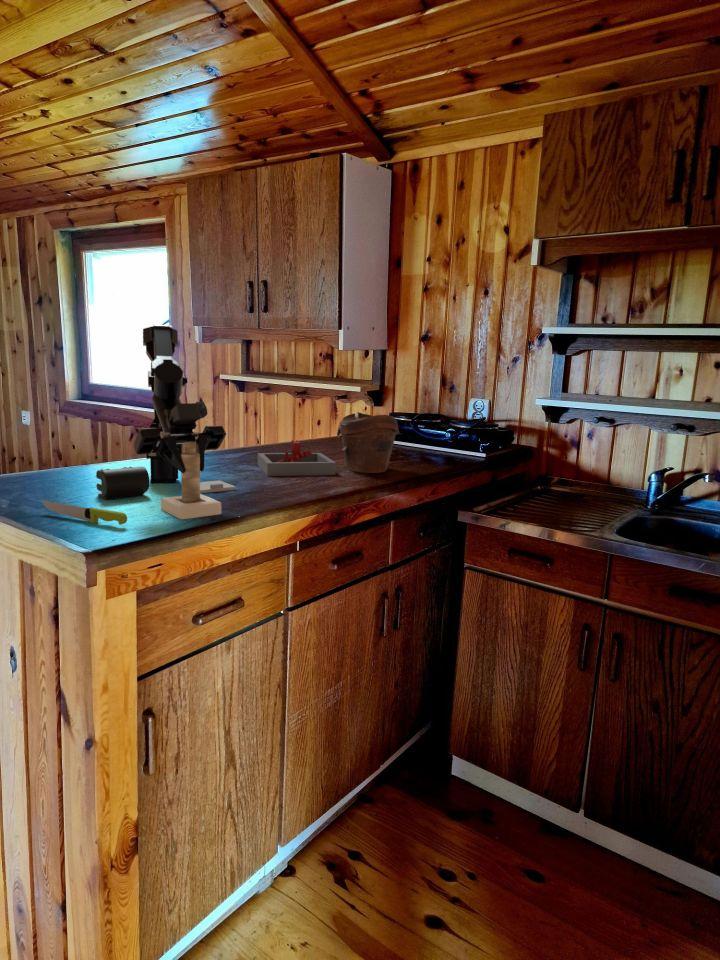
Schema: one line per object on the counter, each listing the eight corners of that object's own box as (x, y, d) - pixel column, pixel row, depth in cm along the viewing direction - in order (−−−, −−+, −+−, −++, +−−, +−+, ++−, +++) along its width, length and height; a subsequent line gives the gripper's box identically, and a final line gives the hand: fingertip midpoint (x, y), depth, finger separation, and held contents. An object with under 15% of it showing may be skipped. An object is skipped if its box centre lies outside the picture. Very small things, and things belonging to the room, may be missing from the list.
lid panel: (183, 487, 158) (182, 480, 157) (219, 483, 164) (219, 476, 164) (198, 493, 151) (198, 486, 150) (236, 489, 157) (236, 482, 157)
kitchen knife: (38, 514, 127) (37, 500, 126) (44, 513, 128) (43, 498, 128) (123, 529, 118) (122, 514, 118) (128, 528, 119) (127, 513, 119)
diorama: (281, 463, 195) (281, 436, 194) (316, 466, 192) (317, 439, 190) (265, 468, 185) (265, 440, 184) (302, 472, 182) (303, 443, 180)
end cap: (107, 502, 139) (106, 472, 138) (95, 496, 144) (93, 467, 143) (150, 497, 146) (149, 468, 144) (137, 491, 151) (136, 464, 149)
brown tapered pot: (350, 461, 207) (352, 407, 203) (406, 468, 198) (409, 412, 195) (323, 470, 191) (325, 411, 187) (383, 478, 183) (386, 416, 179)
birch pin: (181, 502, 130) (181, 443, 128) (181, 498, 134) (180, 440, 132) (200, 502, 132) (200, 443, 129) (199, 498, 135) (199, 440, 133)
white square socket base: (161, 509, 134) (161, 498, 134) (200, 504, 140) (200, 493, 139) (180, 519, 127) (180, 507, 126) (221, 514, 132) (221, 502, 132)
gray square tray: (267, 475, 177) (267, 463, 176) (257, 464, 195) (257, 453, 194) (335, 474, 183) (336, 462, 182) (320, 464, 201) (320, 452, 200)
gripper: (137, 388, 126) (159, 450, 119) (222, 388, 137) (246, 445, 131) (124, 423, 133) (145, 483, 127) (206, 421, 145) (229, 475, 138)
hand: (193, 471), depth 131 cm, fingers closed on birch pin, 4 cm apart
